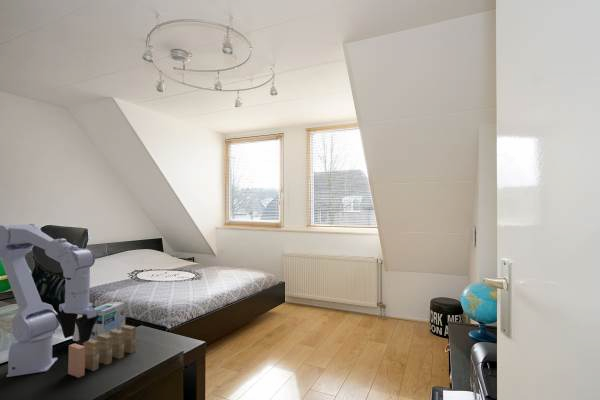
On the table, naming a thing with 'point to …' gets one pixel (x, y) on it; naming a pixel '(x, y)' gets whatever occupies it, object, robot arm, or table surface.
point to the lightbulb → (76, 331)
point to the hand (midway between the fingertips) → (76, 339)
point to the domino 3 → (105, 348)
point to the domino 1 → (76, 360)
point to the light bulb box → (108, 318)
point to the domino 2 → (91, 354)
